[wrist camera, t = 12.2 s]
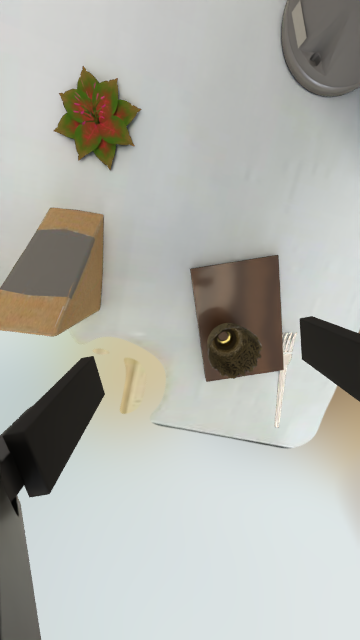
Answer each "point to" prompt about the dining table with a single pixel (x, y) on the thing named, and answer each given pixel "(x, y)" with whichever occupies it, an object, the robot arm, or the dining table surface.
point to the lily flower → (96, 117)
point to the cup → (233, 350)
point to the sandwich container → (55, 275)
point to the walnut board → (241, 307)
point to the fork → (283, 375)
